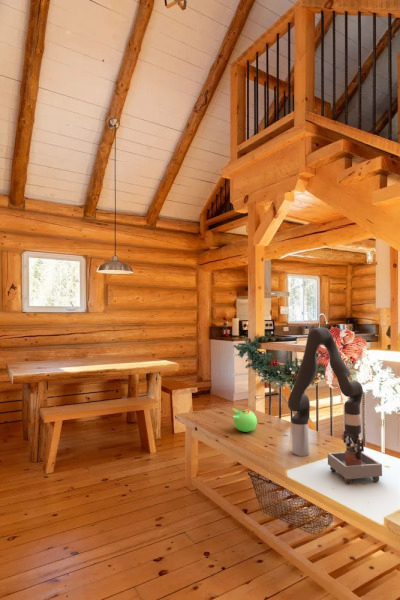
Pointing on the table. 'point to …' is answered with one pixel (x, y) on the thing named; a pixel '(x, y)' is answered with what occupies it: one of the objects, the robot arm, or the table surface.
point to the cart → (355, 467)
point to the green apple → (244, 420)
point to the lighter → (351, 456)
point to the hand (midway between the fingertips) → (353, 456)
